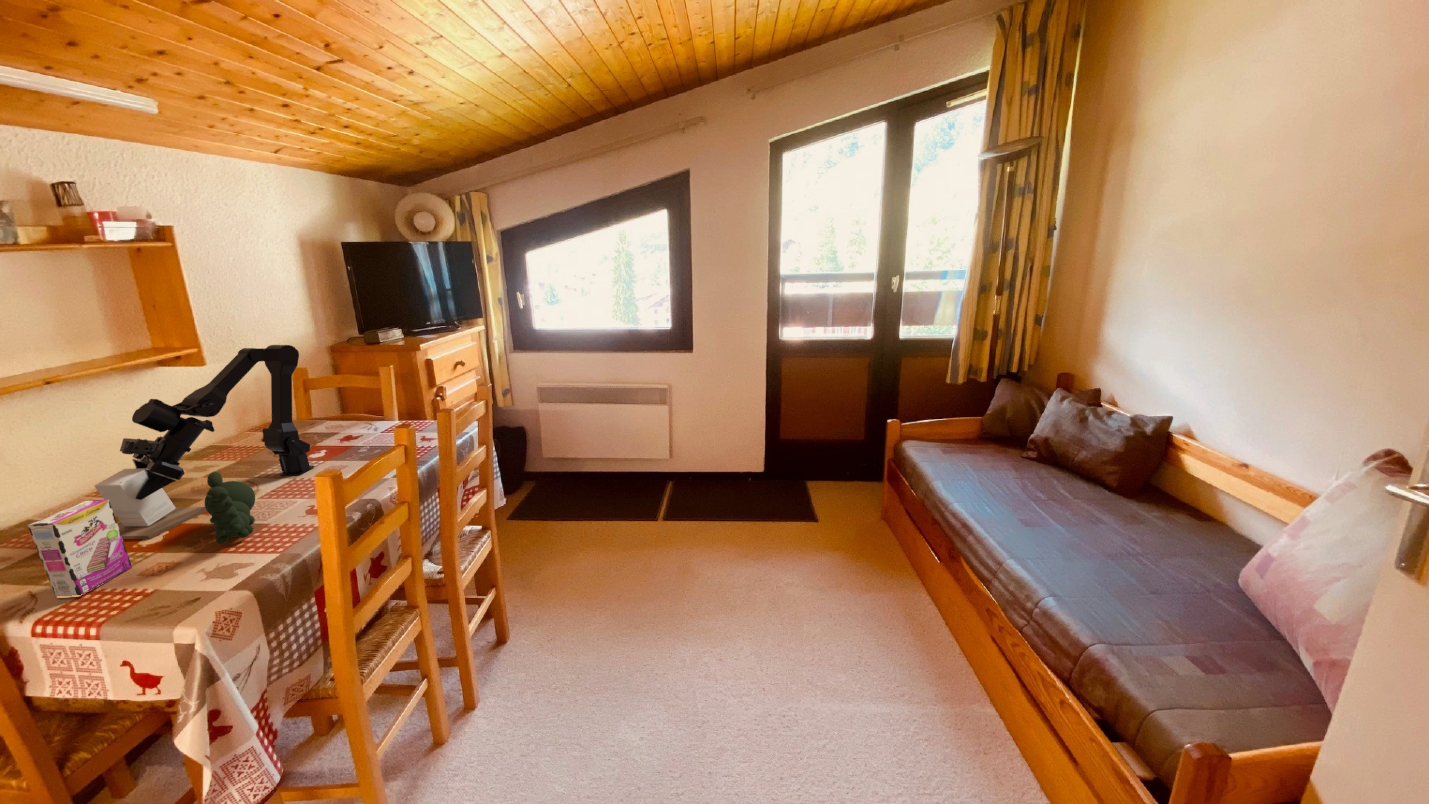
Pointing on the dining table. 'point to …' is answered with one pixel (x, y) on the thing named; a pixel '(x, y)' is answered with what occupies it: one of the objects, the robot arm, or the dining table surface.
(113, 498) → the supplement box
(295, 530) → the dining table surface
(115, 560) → the candy bar box
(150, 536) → the walnut board
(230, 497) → the toy figurine
